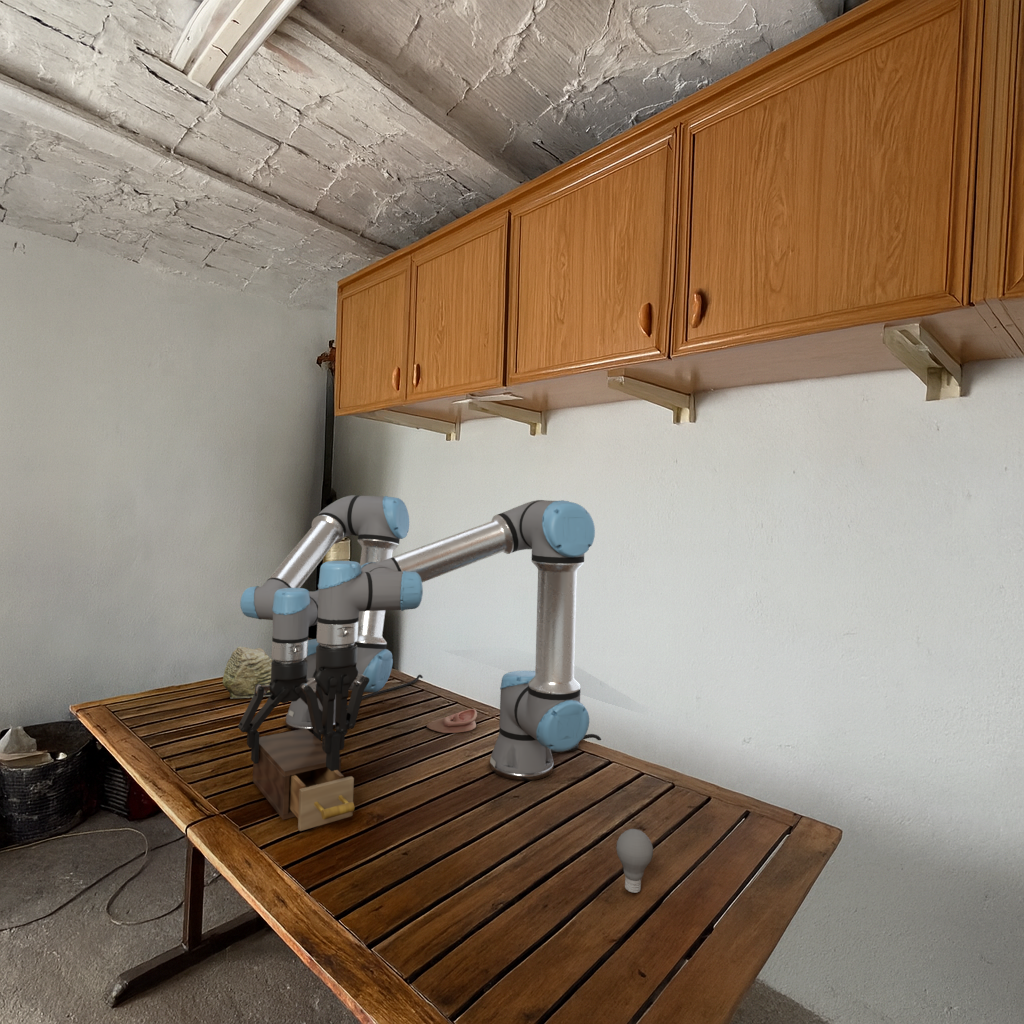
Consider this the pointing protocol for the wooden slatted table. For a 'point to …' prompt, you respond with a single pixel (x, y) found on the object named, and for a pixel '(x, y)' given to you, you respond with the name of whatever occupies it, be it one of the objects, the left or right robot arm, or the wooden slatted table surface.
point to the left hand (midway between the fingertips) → (286, 754)
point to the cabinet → (286, 765)
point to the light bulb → (634, 857)
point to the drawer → (320, 797)
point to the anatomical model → (455, 722)
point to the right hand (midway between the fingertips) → (332, 767)
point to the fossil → (247, 672)
